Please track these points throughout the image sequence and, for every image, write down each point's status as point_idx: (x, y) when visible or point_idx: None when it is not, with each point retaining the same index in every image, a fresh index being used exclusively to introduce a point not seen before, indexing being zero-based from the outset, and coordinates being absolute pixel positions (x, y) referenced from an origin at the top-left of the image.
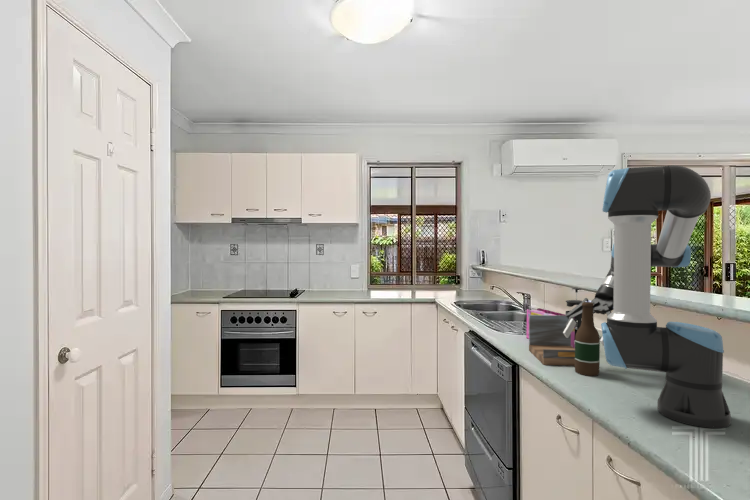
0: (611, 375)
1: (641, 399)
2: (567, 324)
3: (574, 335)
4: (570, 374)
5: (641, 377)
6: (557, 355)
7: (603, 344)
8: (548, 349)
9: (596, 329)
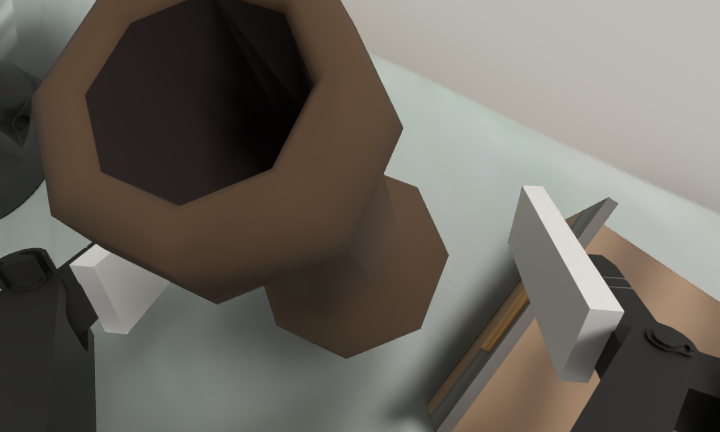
0: (285, 336)
1: None
2: (597, 267)
3: None
4: None
5: (187, 426)
6: None
7: None
8: (598, 227)
9: (276, 306)
